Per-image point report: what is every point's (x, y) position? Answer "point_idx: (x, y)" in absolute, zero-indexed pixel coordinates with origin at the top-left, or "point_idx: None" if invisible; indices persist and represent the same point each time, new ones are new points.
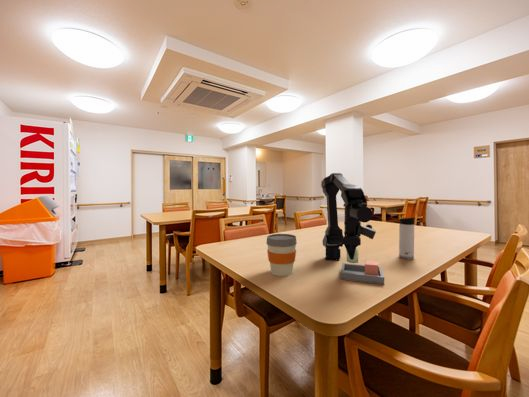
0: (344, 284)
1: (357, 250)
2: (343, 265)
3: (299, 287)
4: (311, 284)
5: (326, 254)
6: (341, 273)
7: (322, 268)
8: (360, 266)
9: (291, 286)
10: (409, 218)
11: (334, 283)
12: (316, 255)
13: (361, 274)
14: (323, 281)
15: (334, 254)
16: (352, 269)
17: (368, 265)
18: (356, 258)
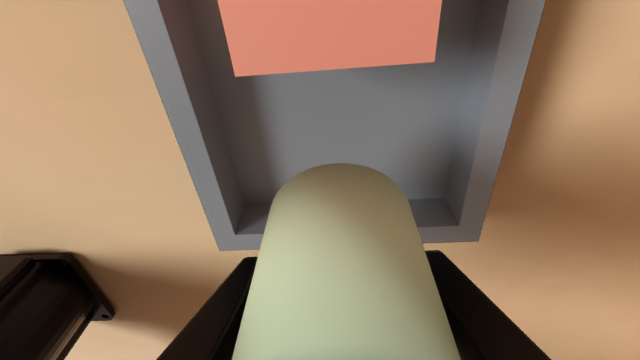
0: (560, 173)
1: (411, 345)
2: None
3: (605, 336)
4: (564, 309)
5: (75, 338)
6: (476, 230)
7: None
8: (196, 102)
9: (591, 356)
10: None
11: (543, 226)
12: (79, 348)
13: (509, 75)
14: (513, 275)
15: (47, 312)
16: (232, 155)
17: (437, 1)
18: (404, 222)
